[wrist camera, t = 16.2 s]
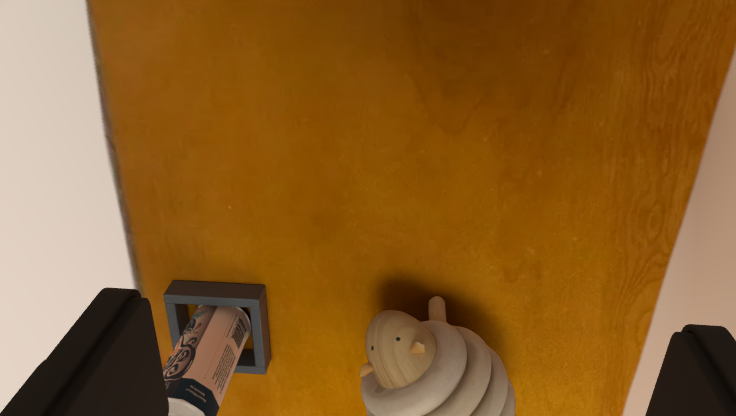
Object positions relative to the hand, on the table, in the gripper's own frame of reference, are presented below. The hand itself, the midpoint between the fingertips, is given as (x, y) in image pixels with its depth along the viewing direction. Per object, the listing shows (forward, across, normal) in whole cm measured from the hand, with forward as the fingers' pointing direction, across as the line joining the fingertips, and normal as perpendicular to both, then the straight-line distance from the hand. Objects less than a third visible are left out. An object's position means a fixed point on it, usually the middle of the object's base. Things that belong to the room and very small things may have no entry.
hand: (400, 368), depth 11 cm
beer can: (+30, +14, +24) cm, 40 cm away
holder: (+30, +14, +24) cm, 40 cm away
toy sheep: (+30, -3, +25) cm, 39 cm away
